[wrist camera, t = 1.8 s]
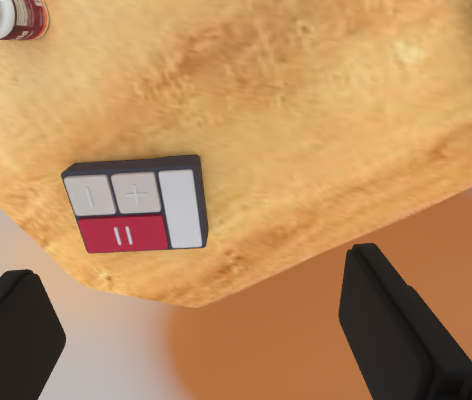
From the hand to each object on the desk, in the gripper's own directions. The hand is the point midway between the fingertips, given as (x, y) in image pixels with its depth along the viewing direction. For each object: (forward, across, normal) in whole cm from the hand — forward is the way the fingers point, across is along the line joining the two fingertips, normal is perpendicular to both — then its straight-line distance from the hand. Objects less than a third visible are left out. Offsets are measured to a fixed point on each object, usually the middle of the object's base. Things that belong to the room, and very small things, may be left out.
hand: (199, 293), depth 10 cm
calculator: (+28, +10, +10) cm, 31 cm away
